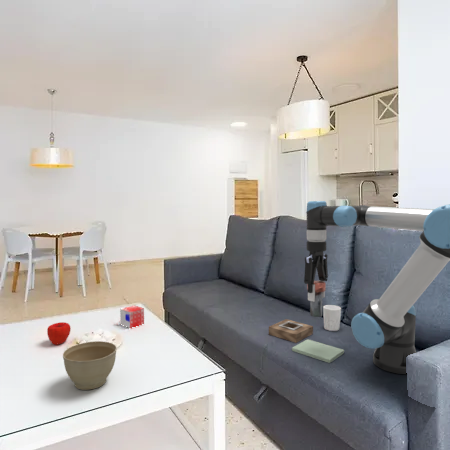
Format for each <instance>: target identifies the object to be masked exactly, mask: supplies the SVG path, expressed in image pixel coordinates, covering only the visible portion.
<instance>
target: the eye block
mask: <svg viewBox="0 0 450 450" xmlns="http://www.w3.org/2000/svg"><path fill="white" fill-rule="evenodd" d="M313 334H314V325H310V324H308V323H307V324H305V323H303V322H299V321H294V320H291V319H287V318H285V319H283V320H280V321H279V322H277V323H273V324H272V325H269V326H268V335H269V336H272V337H277V338H279V339H283V340H286V341H289V342H292V343H294V344H295V343H296V344H297V343H299V342H300V341H302V340H304V339H306V338H308V337H310V336H311V335H313Z"/></svg>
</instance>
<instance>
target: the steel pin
mask: <svg viewBox="0 0 450 450" xmlns="http://www.w3.org/2000/svg"><path fill="white" fill-rule="evenodd" d="M314 284H315V301H314V302H313V301H310V316H311V317H314V318H321V317H322V316H323V298H322V292H324V291H325V292H326V289H327V288H326V281H325V282H323V281H320V280H319V281H318V280H314ZM306 290H307V291H308V284H306Z"/></svg>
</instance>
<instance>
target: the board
mask: <svg viewBox="0 0 450 450" xmlns="http://www.w3.org/2000/svg"><path fill="white" fill-rule="evenodd" d="M291 351H292V352H295V353H298V354H300V355H303V356H306V357H310V358H313V359H316V360H319V361H323V362H324V363H328V364H330V363H332V362H334V361H335V360H336V359H338V358H339V357H341V356H342V355H343V354H344V353H345V349H342V348H339V347H335V346H333V345H328V344H324V343H322V342H318V341H315V340H313V339H306V340H303V341H302V342H300V343H298V344H296V345H294V346H292V347H291Z"/></svg>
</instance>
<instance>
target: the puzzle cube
mask: <svg viewBox="0 0 450 450" xmlns="http://www.w3.org/2000/svg"><path fill="white" fill-rule="evenodd" d="M119 313H120V315H119V317H120V318H119V319H120V321H119V323H120V325H121V324H122V325H124V326H127V327H129V328H131V329H133V328H132V327H135V328H137V327H136V326H138V327H140V326H139V325H141V326H143V325H142V324H144V325H145V308H143V307H141V306H137V305H130V306H126V307H122V308H120V311H119ZM122 325H121V326H122ZM124 326H123V327H124ZM127 327H126V328H127ZM129 328H128V329H129Z"/></svg>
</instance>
